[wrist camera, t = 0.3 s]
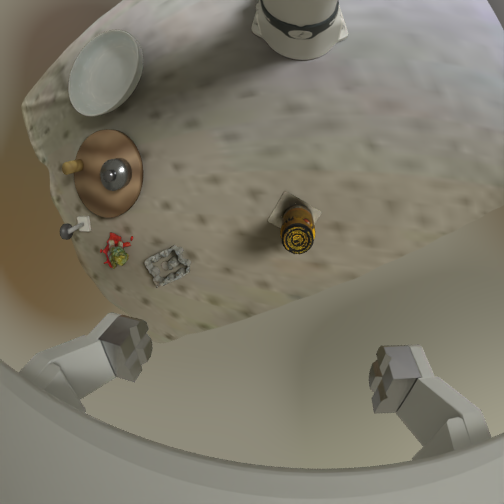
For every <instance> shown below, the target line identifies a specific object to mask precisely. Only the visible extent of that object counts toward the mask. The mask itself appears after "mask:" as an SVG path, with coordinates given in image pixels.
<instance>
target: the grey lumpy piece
mask: <svg viewBox="0 0 504 504" xmlns="http://www.w3.org/2000/svg"><path fill="white" fill-rule="evenodd" d="M173 250H174V251H175V253H176V255H178V257H177V256H173V257H172V258H171V259H170V260H169V261H168V263H167V262H162V264H161V266H162V268H163V269H165V270H168V269H169V270H172V269H174V268H176V267H177V266H178V265H179V264H180V263H181V264H184V266H186V265H187V266H188V267H187V269H184V268H180V269H179V270H178V271H177V272H176V274H174V273H170V274H169V275H168V276H167V277H166V278H161V277H160V276H159V273H160V270H159V268H158V267H156V266H153V265H152V261H153V262H157V261H158V260H159V259H160V258H161V257H162V256H163V257H167V256H168V255H169V254H170V253H171V252H172V251H173ZM183 251H184V250H183V248H182V247H177V246H176V245H173V246H172V247H171V248H170V249H167V250H164V251H162V252H161V253H158V254H156V255H154V256H151V257H150V258H148V259H147V260H146V261H145V263H144V264H145V265H146V268H147V269H148V270H149V273H150V274H151V273H152V275H153V277H154V278H153V281H154V283H155V284H156V288H158V287H161V286H164V285H166V284H167V283H170V282H173V281H175V280H177V279H180V278H181V277H183V276H184V275H186V274H187V273H189V272H190V270H189V269H190V267H189V266H190V264H191V261H190V260H189V259H188V260H186V259H184V258H183V257H182V252H183Z"/></svg>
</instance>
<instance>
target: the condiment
mask: <svg viewBox="0 0 504 504" xmlns="http://www.w3.org/2000/svg"><path fill="white" fill-rule="evenodd" d="M295 203H296V204H295ZM321 213H322V212H321V211H319V210H317V209H316V208H314V207H312V206H311V205H309V204H307V203H306V202H304V201H302V200H300V199H299V198H297V197H295V196H294V195H292V194H290V193H288V192H287V191H285V192H284V193H283V195H282V197H281V199H280V200H279V202H278V204H277V205H276V207H275V209H274V211H273V212H272V214H271V216H270V218H269V219H268V222H270V223H272V224H274V225H275V226H277V227H279V228H280V229H281V231H280V234H281V239H282V244H283V246H284V247H285V249H286V250H287V251H289V252H291V253H293V254H302V253H305V252H307V251H308V250H309V249H310V248H311V247H312V245H313V241H314V238H315V226H314V224H315V222H316V221H317V219H318V218H319V216H320V215H321ZM281 216H282V218H283V219H282V218H281Z"/></svg>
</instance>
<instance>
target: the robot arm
mask: <svg viewBox="0 0 504 504" xmlns="http://www.w3.org/2000/svg"><path fill="white" fill-rule="evenodd" d="M257 24H258V25H257ZM342 29H343V30H342ZM251 30H252V32H253V33H254V34H255V35H257V36H259V37H261V38H263V39H264V40H265V41H266V42H267V43H268V45H269V46H270V47H271V48H272V49H273V50H274V51H276V52H277V53H279V54H281V55H283V56H285V57H288V58H292V59H297V60H309V59H314V58H318V57H320V56H322V55H324V54H326V53H327V52H328V51H329V50H330V49H331V48H332V47H333V46H334V45H335V44H336V43H337V42H340V41H342V40H344V39H346V38H347V37H348V31H347V27H346V24H345V21H344V18H343V15H342V12H341V9H340V6H339V2H338V0H259V3H258V4H256V13H255V16H254V20H253V23H252V27H251ZM147 331H148V325H147V322H146V321H144V320H141V319H137V318H133V317H129V316H125V315H120V314H116V313H113V312H111V313H108V314H107V315H106V316H105V317H104V318H103V319H102V321H101V322H100V323H99V324H98V325H97V326H96V327H95V328H94V329H93V330H92V331H91V332H90V333H89V334H88V335H87V336H85V335H83V336H81V337H78V338H76V339H73V340H70V341H68V342H65V343H63V344H60V345H57V346H55V347H52V348H50V349H47V350H44V351H42V352H39V353H37V354H36V355H35V356H34V357H33V358H32V359H31V360H30V361H29V362H28V363H27V364H26V365H25V366H24V368H22V369H21V371H20V372H19V373H18V372H17V371H15V370H14V369H13V368H11V367H10V366H9V365H7V364H6V363H5V362H4V361H2V360H1V359H0V504H504V433H502V434H499V435H497V436H494V437H492V438H491V435H490V432H489V429H488V426H487V424H486V421H485V419H484V416H483V413H482V411H481V410H480V409H479V408H478V407H477V406H475V405H474V404H473V403H472V402H470V401H469V400H468V399H466V398H465V397H464V396H462V395H461V394H460V393H459V392H458V391H456V390H455V389H454V388H452V387H451V386H450V385H448V384H447V383H446V382H445V381H443V380H442V379H441V378H440V377H438V376H437V377H435V376H434V374H433V372H432V369H431V366H430V364H429V362H428V360H427V357H426V355H425V353H424V351H423V348H422V346H421V345H419V344H417V345H391V346H389V345H387V346H380V347H379V349H378V351H377V354H376V355H377V360H376V361H375V362H374V363H373V364H372V366H371V369H370V373H369V386H370V389H371V390H372V391H373V392H374V395H373V397H372V403H373V410H374V413H394V412H397V413H396V414H397V415H398V416H399V418H400V419H401V420H402V421H403V423H404V424H405V425H406V426H407V427H408V429H409V430H410V431H411V432H412V433H413V435H414V436H415V437H416V438H417V439H418V441H419V442H420V443H421V444H422V446H423V448H422V449H421V450H420V451H419V452H418V453H417V454H416V455H415V456H414V457H413V458H412V461H407V462H401V463H394V464H387V465H379V466H370V467H358V468H339V469H304V468H285V467H273V466H263V465H255V464H247V463H241V462H235V461H229V460H223V459H219V458H214V457H209V456H204V455H200V454H196V453H192V452H188V451H184V450H181V449H177V448H173V447H170V446H167V445H164V444H160V443H157V442H154V441H151V440H148V439H145V438H142V437H140V436H137V435H134V434H132V433H129V432H127V431H124V430H121V429H119V428H117V427H114V426H112V425H110V424H107V423H105V422H103V421H101V420H99V419H96V418H94V417H92V416H90V415H88V414H86V413H85V412H86V410H85V407H84V406H83V405H82V403H81V401H80V399H82V398H83V397H85V396H87V395H88V394H90V393H92V392H93V391H95V390H97V389H98V388H100V387H102V386H103V385H104V384H106V383H108V382H109V381H111V380H112V379H114V378H116V377H119V378H122V379H125V380H128V381H132V382H135V380H136V379H137V378H138V376H139V374H140V373H141V371H142V366H141V365H142V364H144V363H146V362H147V361H148V360H149V358H150V357H151V353H152V341H151V338H150V337H149V336H148V334H147V333H146V332H147Z"/></svg>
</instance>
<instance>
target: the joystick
mask: <svg viewBox="0 0 504 504" xmlns="http://www.w3.org/2000/svg"><path fill="white" fill-rule="evenodd" d="M77 221H78V224H77V225H75V226H73V227H72V226H71V225H70V224H63V225H62V226H61V228H60V236H61V237H62V239H66V240H67V239H70V238H71V237H72V235H73V232H74V231H75V230H77V229H79V231H91V226H90V219H89V216H78V217H77Z"/></svg>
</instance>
